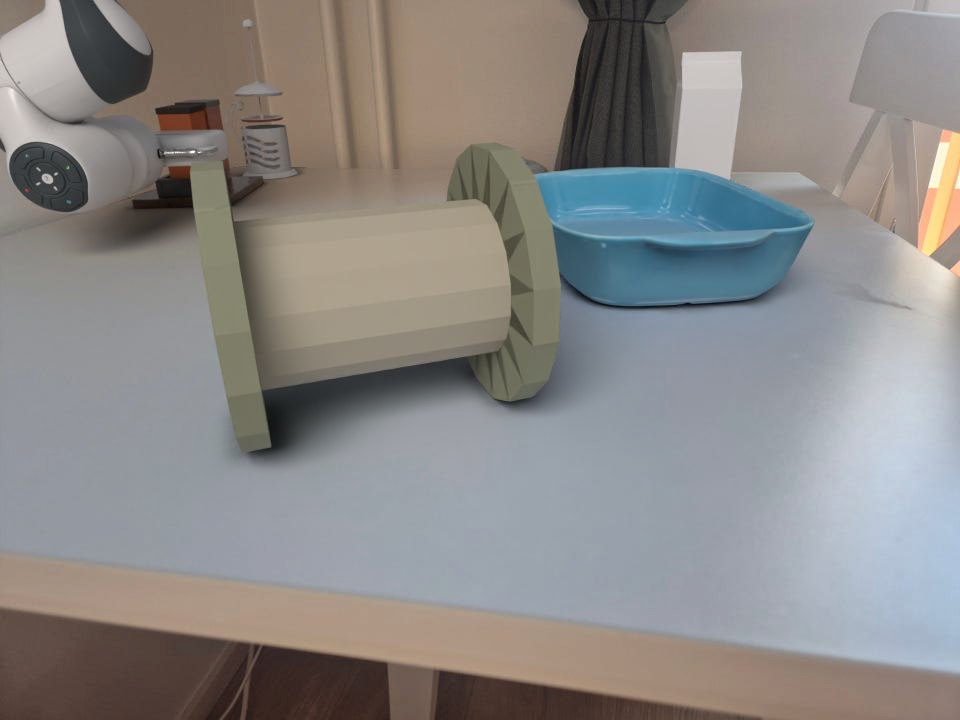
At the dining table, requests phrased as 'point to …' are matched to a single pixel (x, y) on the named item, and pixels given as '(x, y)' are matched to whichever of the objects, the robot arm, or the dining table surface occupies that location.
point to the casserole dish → (668, 235)
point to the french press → (263, 133)
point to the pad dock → (180, 189)
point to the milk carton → (706, 112)
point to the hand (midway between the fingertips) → (166, 140)
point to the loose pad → (181, 127)
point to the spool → (382, 287)
